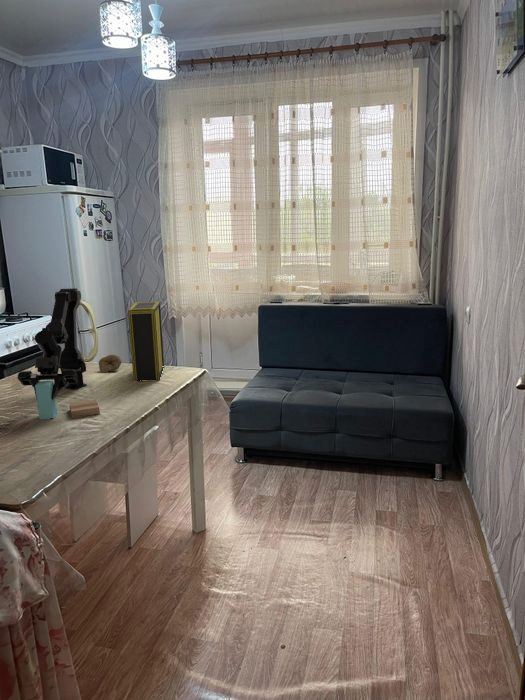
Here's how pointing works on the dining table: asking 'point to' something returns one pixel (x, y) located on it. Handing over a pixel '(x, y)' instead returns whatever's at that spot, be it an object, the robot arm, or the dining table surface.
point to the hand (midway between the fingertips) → (44, 399)
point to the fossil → (109, 363)
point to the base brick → (84, 408)
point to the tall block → (45, 400)
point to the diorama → (146, 340)
